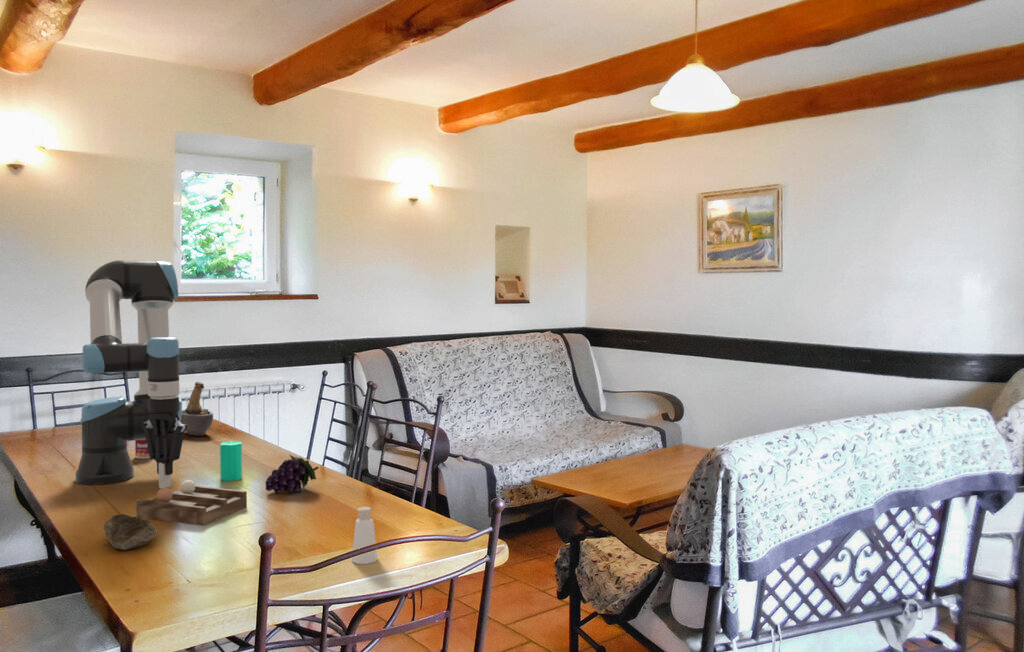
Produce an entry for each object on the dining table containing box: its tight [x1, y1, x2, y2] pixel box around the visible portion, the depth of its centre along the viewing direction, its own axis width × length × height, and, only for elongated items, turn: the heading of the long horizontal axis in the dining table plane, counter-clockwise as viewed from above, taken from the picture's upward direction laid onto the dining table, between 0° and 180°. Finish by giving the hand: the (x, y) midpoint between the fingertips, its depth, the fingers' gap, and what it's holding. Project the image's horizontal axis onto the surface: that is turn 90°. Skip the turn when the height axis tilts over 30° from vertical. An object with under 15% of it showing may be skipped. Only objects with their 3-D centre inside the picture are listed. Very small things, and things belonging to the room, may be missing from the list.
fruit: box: [265, 454, 319, 493], centre depth 214 cm, size 10×11×15 cm
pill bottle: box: [134, 440, 155, 460], centre depth 254 cm, size 6×6×11 cm
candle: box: [219, 440, 243, 482], centre depth 227 cm, size 6×6×12 cm
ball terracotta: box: [156, 487, 173, 502], centre depth 192 cm, size 4×4×4 cm
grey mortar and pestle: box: [180, 381, 214, 437], centre depth 291 cm, size 15×17×20 cm
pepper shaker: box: [351, 506, 378, 565], centre depth 162 cm, size 5×5×11 cm
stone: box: [102, 513, 158, 551], centre depth 171 cm, size 13×8×8 cm
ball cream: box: [179, 479, 196, 494], centre depth 199 cm, size 4×4×4 cm
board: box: [135, 484, 248, 527], centre depth 194 cm, size 20×16×4 cm
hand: (165, 486), depth 202 cm, fingers closed
